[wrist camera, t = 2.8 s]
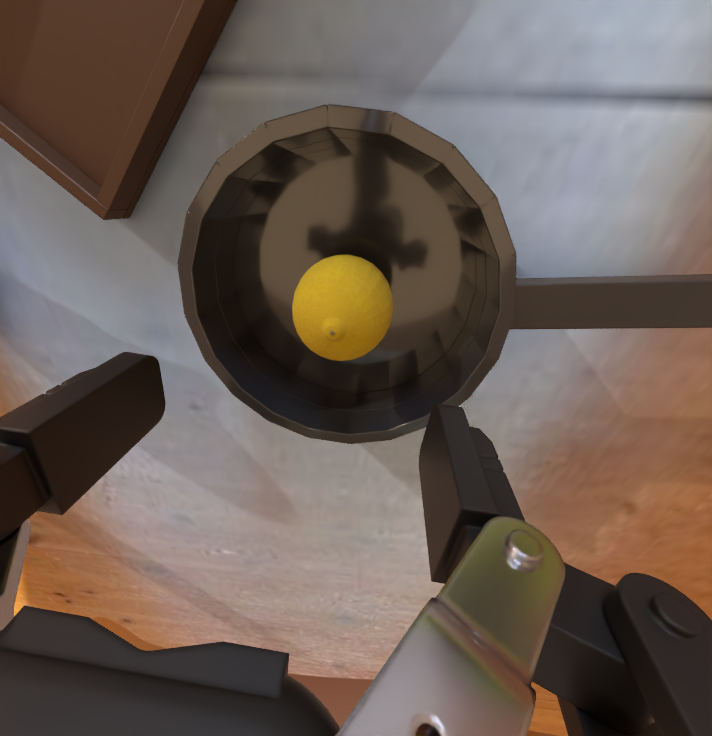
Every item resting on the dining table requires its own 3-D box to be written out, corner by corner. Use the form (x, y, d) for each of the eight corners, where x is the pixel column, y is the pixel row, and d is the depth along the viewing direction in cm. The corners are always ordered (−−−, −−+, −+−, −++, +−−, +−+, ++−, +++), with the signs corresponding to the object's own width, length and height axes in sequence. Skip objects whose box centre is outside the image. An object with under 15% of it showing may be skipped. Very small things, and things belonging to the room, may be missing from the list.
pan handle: (495, 321, 19) (502, 329, 18) (502, 278, 18) (510, 284, 17) (707, 318, 18) (731, 328, 17) (728, 273, 17) (755, 279, 15)
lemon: (306, 247, 21) (263, 272, 14) (393, 244, 21) (394, 269, 13) (315, 328, 24) (282, 385, 17) (392, 328, 23) (393, 386, 16)
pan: (339, 42, 17) (318, -20, 12) (545, 283, 21) (590, 310, 16) (179, 291, 24) (125, 316, 19) (359, 433, 28) (352, 483, 23)
